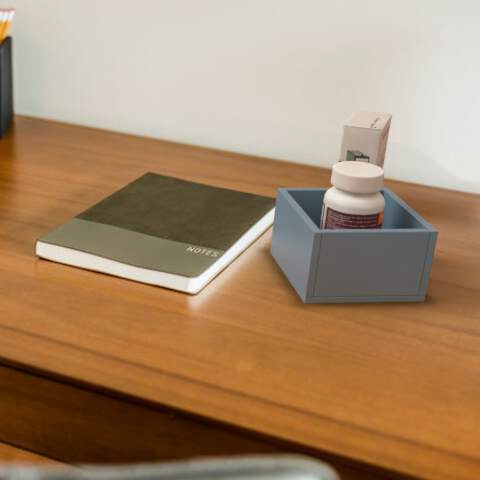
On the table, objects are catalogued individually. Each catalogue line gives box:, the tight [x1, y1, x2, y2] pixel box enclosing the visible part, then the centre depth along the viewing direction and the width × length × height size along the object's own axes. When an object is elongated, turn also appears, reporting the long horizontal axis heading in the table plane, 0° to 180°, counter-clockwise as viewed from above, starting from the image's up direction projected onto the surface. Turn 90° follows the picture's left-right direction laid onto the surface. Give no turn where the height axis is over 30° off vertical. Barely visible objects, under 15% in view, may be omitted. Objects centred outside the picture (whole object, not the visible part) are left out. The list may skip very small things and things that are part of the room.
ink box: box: [338, 109, 393, 170], centre depth 113 cm, size 9×5×12 cm, turn 157°
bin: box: [269, 187, 439, 304], centre depth 94 cm, size 13×13×8 cm
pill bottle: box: [320, 161, 385, 229], centre depth 93 cm, size 6×6×11 cm
